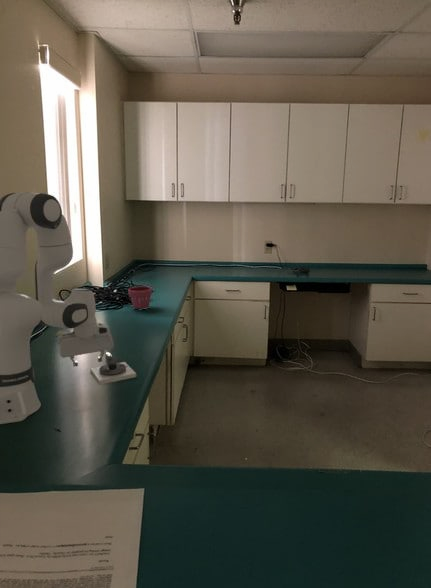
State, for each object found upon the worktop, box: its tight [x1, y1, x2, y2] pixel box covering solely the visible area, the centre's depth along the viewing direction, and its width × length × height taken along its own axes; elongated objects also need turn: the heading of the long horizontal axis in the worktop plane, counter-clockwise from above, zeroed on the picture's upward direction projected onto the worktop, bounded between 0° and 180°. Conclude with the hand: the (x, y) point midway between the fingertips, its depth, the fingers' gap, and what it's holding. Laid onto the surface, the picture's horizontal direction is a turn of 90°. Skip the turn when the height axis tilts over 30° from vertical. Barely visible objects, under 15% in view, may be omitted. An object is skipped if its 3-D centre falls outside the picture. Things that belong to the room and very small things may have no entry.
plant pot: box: [127, 285, 153, 309], centre depth 273 cm, size 14×14×13 cm
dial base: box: [90, 361, 137, 385], centre depth 173 cm, size 14×14×2 cm
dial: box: [99, 351, 126, 375], centre depth 173 cm, size 12×10×5 cm
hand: (88, 363), depth 174 cm, fingers open, 8 cm apart
